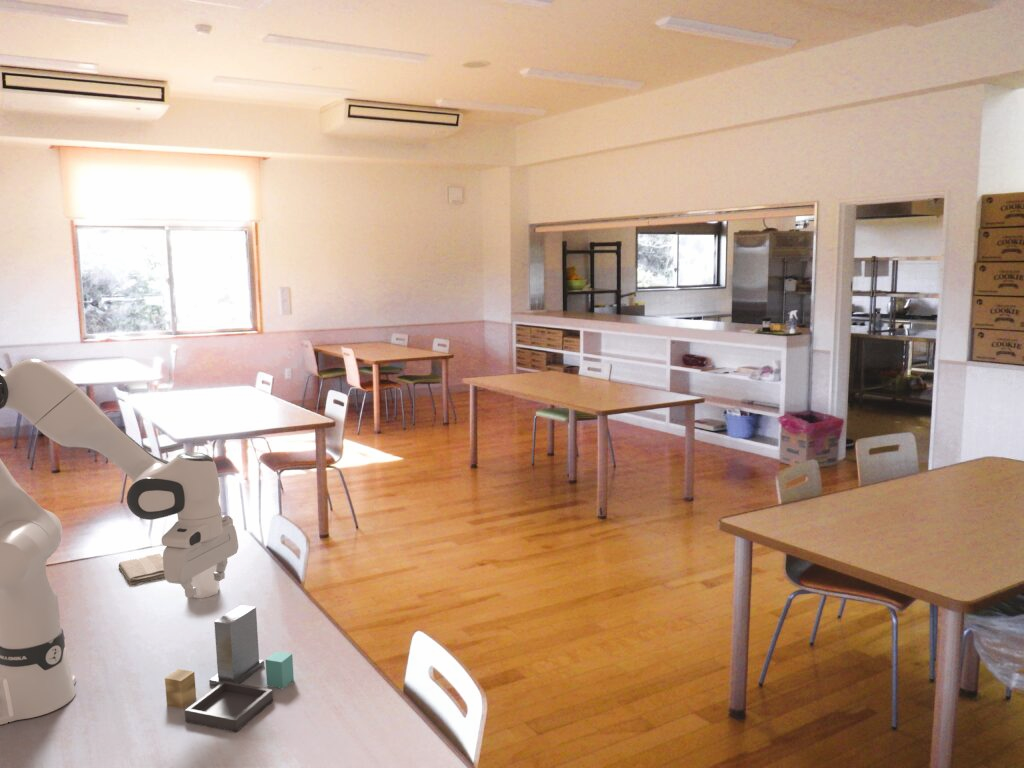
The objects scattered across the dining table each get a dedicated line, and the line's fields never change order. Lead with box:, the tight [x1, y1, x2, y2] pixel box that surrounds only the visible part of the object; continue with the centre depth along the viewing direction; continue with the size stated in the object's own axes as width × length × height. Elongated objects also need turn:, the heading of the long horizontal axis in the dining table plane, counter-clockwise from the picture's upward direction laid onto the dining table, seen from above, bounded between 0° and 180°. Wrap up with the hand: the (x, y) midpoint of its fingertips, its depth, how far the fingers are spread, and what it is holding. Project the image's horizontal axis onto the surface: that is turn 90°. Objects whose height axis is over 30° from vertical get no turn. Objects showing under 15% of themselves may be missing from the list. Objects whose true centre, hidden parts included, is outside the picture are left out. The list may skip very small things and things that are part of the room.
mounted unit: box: [208, 604, 265, 687], centre depth 181 cm, size 6×11×14 cm, turn 161°
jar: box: [190, 564, 220, 599], centre depth 227 cm, size 9×8×12 cm
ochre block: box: [164, 668, 197, 709], centre depth 170 cm, size 4×4×6 cm
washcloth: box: [118, 553, 165, 586], centre depth 243 cm, size 12×18×3 cm, turn 37°
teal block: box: [264, 651, 295, 689], centre depth 178 cm, size 4×4×6 cm
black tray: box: [184, 681, 274, 733], centre depth 167 cm, size 12×12×2 cm
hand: (205, 587), depth 180 cm, fingers open, 8 cm apart
